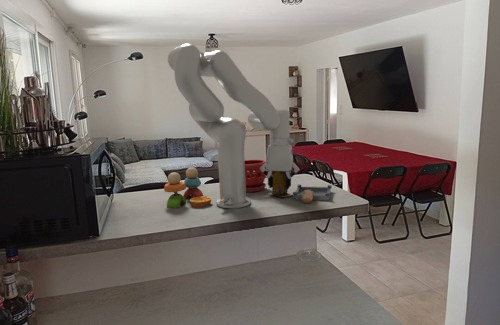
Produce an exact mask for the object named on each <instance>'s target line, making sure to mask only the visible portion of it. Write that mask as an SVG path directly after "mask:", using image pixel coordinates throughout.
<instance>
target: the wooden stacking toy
mask: <svg viewBox="0 0 500 325" xmlns="http://www.w3.org/2000/svg"><path fill="white" fill-rule="evenodd" d="M185 175H186V178H184V181H181V180H182V179H181V175H180V174H179V173H178V172H171V173H169V174H168V176H167V183H165V185H164V187H163V188H164V189H163V190H164V192H165V193H173V194H171V195H170V196H169V197H168V199H167V201H166V208H169V209H177V208H180V207H181V204H186V203H187V200H186V199H187V198H188V197H191V198H190V199H189V202H190V206H192V207H194V208H205V207H208V206H210V205H211V204H212V203H211V202H212V197H211V196H204V194H203V191H202V190H201V189H200V188H198V187H200V186H201V185H202V182H201V179H200V178H199V177H198V175H199V171H198V169H197V168H196V167H193V166H192V167H189V168H187V169H186V170H185ZM181 191H184V192H183V195H182V194H181V193H178V192H181Z"/></svg>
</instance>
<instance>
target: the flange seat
mask: <svg viewBox="0 0 500 325" xmlns="http://www.w3.org/2000/svg"><path fill="white" fill-rule="evenodd" d="M292 193H293V195H292V196H293V200H297V201H299V200H301V202H302V203H303V204H306V205H307V204H308V205H309V204H310V203H312V201H326V202H327V201H328V202H329V201H330V198H331V193H332V185H331V184H328V185H327V186H302V184H297V185H296V189H295V191H293V192H292Z"/></svg>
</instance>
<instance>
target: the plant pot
mask: <svg viewBox="0 0 500 325" xmlns="http://www.w3.org/2000/svg"><path fill="white" fill-rule="evenodd" d="M244 161H245V183H246V193H247V192H250V193H251V192H258V191H262V190H264V189H265V188H266V186H267V185H266V183H264V182H265V180H266V178H267V176H266V175H265V174H264V173H263V172H262V171H261V170H260V167H261V166H262V165H263V164H264V163H265V162H266V160H264V159H244ZM265 170H267V169H266V167H265Z"/></svg>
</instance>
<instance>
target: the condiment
mask: <svg viewBox="0 0 500 325" xmlns="http://www.w3.org/2000/svg"><path fill="white" fill-rule="evenodd" d="M286 179H287V174H286V172H281V171H273V172H272V188H271V189H272V190H271V191H272V192H268V193H267V194H268V195H270V196H276V197H278V198H279V197H280V198H287V197H291V196H294V195H293V192H289V189H286Z"/></svg>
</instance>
